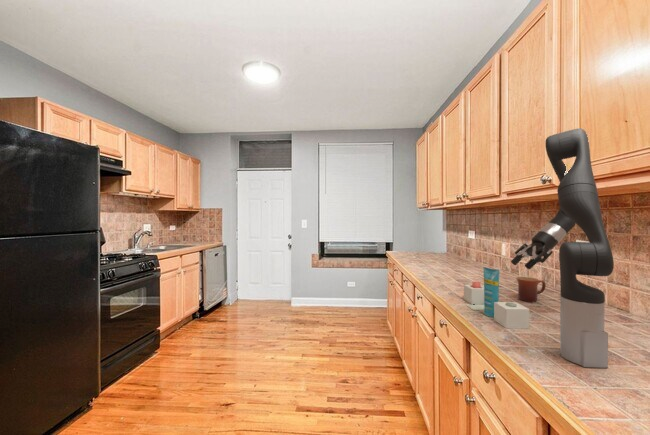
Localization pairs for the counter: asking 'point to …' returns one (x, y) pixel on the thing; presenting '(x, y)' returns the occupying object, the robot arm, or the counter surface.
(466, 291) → the grey block
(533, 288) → the mug
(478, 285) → the gauge button
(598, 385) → the counter surface
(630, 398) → the counter surface
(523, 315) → the block with green button
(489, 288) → the tube
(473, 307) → the pad
